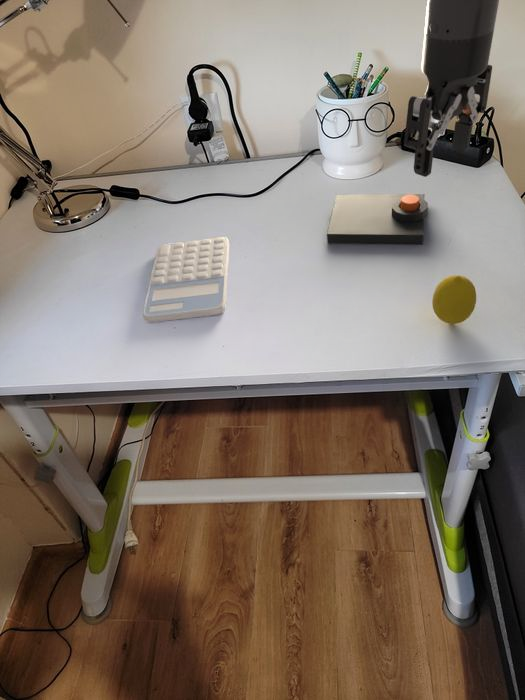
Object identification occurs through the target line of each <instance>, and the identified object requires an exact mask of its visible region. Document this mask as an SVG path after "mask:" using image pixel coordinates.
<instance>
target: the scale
mask: <svg viewBox="0 0 525 700" xmlns="http://www.w3.org/2000/svg"><path fill="white" fill-rule="evenodd" d="M405 195H416V196H418V197H419V208H418V209H417V210H414V211H405V210H402V209H401V198H402V197H403V196H405ZM425 196H426V195H425V193H402V194H401V193H399V194H396V193H394V194H390V193H389V194H336V195H335V199H334V203H333V207H332V210H331V211H332V212H331V215H330V220H329V224H328V228H327V232H326V243H327V244H354V245H355V244H357V245H358V244H361V245H366V244H367V245H373V244H374V245H423V244H424V235H425V218H427V216H428V209H429V208H428V207H429V203H428V202H427V201H426V200H425Z"/></svg>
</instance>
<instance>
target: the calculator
mask: <svg viewBox="0 0 525 700" xmlns="http://www.w3.org/2000/svg"><path fill="white" fill-rule="evenodd" d="M229 258H230V241H229V239H228V237H226V236H218V237H209V238H202V239H193V240H186V241H178V242H177V241H176V242H170V243H164V244H160V245H159V246H157V248H156V253H155V257H154V261H153V266H152V270H151V274H150V279H149V283H148V287H147V292H146V295H145V300H144V304H143V308H142V317H143V319H144V321H145V322H147V323H158V322H159V323H160V322H166V321H177V320H185V319H193V318H194V319H195V318H202V317H213V316H218V315H221V314H223V313H224V312H225V310H226V305H227V289H228V273H229Z"/></svg>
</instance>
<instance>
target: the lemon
mask: <svg viewBox="0 0 525 700" xmlns="http://www.w3.org/2000/svg"><path fill="white" fill-rule="evenodd" d="M476 304H477V291H476V287H475V285H474V284H473V282H472V281H471V280H470V279H469V278H468V277H466V276H464V275H460V274H459V275H458V274H454V275H449V276H447V277H445V278H443V279H442V280H441V281H440V282H439V283H438V284H437V286H436V287H435V290H434V292H433V295H432V309H433V313H434V314H435V316H436V317H437V318H438V320H440V321H442V322H443V323H445V324H451V325H456V324H460V323H463V322H464V321H466V320H468V319H469V318H470V317H471V315H472V314H473V313H474V310H475V308H476Z"/></svg>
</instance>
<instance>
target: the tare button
mask: <svg viewBox="0 0 525 700" xmlns="http://www.w3.org/2000/svg"><path fill="white" fill-rule="evenodd" d="M418 208H419V197H418V196H416V195H405V196H403V197H402V198H401V209H402V210H405V211H414V210H417V209H418Z"/></svg>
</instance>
